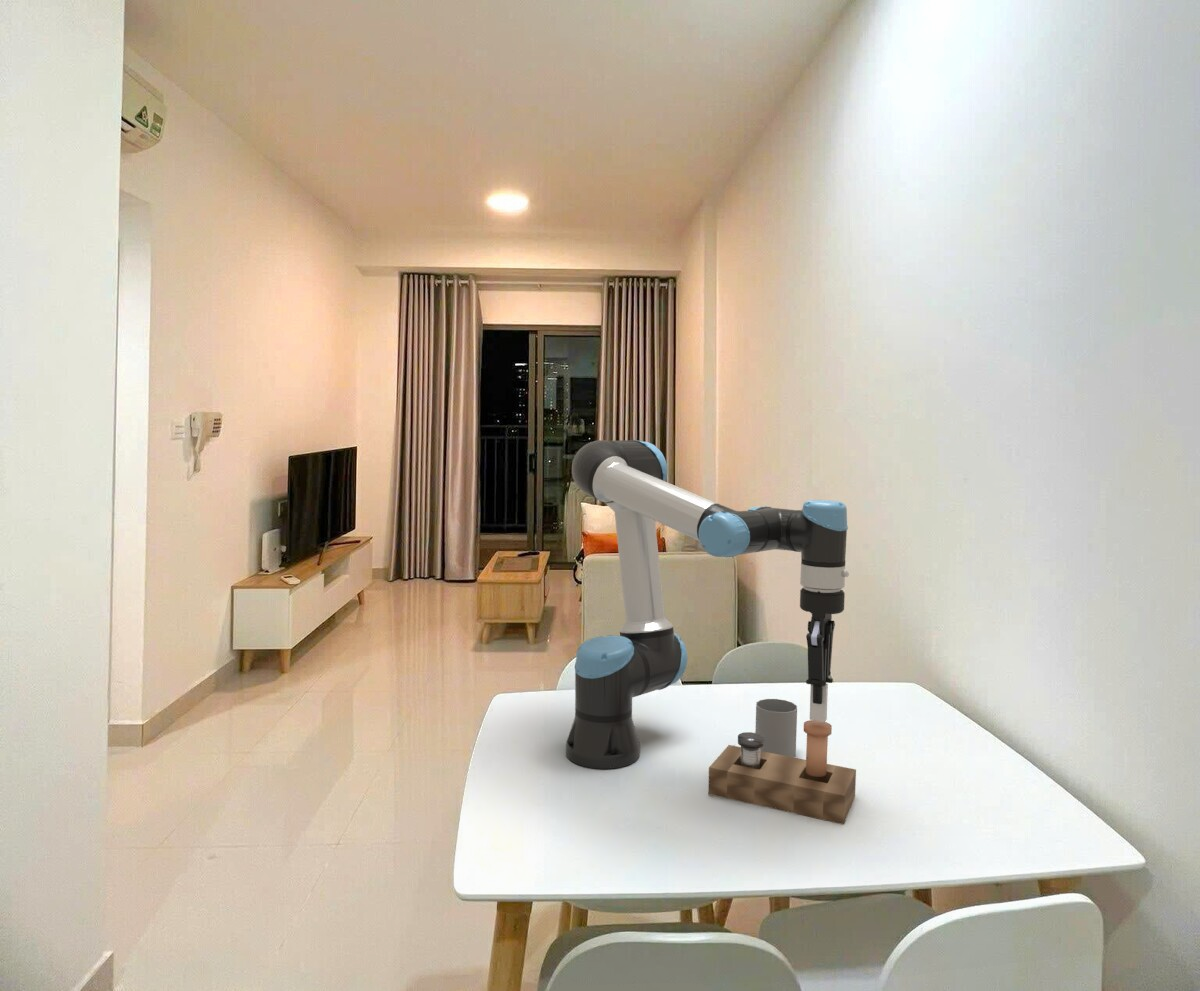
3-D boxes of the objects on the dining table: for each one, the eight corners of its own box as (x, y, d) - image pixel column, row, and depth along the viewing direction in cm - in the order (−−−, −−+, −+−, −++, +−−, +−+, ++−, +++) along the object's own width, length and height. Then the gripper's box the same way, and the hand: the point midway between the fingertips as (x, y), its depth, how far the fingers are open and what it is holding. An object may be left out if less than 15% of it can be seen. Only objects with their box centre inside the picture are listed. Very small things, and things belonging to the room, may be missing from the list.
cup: (796, 762, 158) (797, 714, 158) (754, 758, 160) (756, 710, 159) (794, 746, 167) (796, 700, 166) (755, 743, 168) (756, 697, 167)
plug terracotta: (799, 774, 140) (801, 726, 139) (805, 764, 144) (806, 718, 143) (827, 780, 137) (828, 731, 137) (832, 770, 142) (833, 723, 141)
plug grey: (733, 785, 145) (734, 739, 145) (740, 775, 149) (742, 730, 149) (758, 790, 143) (760, 743, 142) (765, 780, 147) (767, 735, 147)
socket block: (708, 793, 144) (708, 767, 143) (728, 769, 154) (728, 744, 154) (843, 824, 133) (844, 795, 133) (855, 796, 144) (856, 769, 143)
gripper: (837, 596, 131) (833, 735, 132) (850, 584, 142) (846, 711, 144) (792, 592, 134) (788, 727, 136) (808, 580, 146) (804, 705, 147)
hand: (818, 719), depth 140 cm, fingers closed
